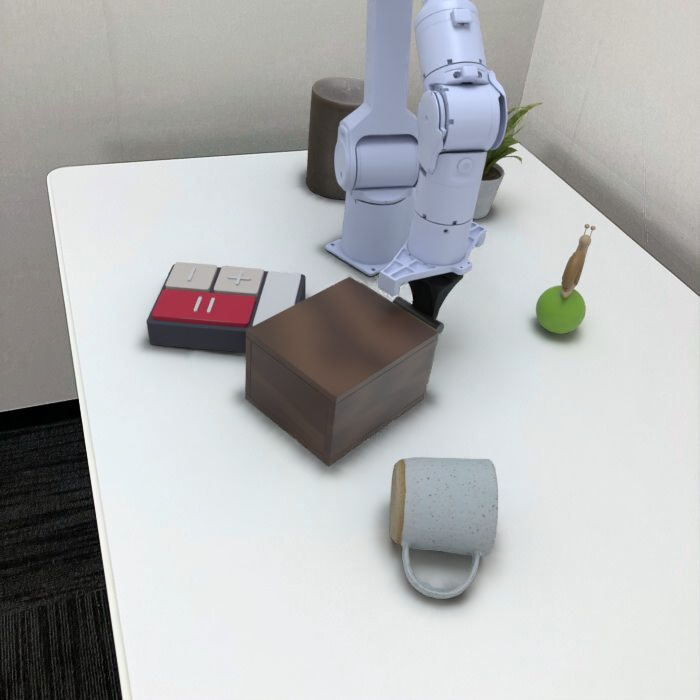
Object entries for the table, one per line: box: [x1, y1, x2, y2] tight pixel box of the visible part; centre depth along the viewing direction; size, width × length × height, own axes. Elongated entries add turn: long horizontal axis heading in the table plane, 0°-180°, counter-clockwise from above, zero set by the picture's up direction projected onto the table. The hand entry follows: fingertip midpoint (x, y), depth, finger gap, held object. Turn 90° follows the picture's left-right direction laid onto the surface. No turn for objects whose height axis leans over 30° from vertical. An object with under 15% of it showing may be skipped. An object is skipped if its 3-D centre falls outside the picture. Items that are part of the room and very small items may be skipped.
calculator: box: [146, 261, 307, 354], centre depth 83 cm, size 11×4×15 cm
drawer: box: [360, 282, 445, 385], centre depth 76 cm, size 17×10×7 cm, turn 136°
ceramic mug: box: [389, 456, 499, 600], centre depth 62 cm, size 11×8×8 cm
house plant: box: [473, 102, 543, 220], centre depth 104 cm, size 14×14×16 cm
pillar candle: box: [305, 76, 364, 200], centre depth 106 cm, size 10×10×15 cm
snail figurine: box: [535, 223, 596, 335], centre depth 85 cm, size 5×6×12 cm
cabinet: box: [244, 276, 438, 467], centre depth 74 cm, size 14×12×9 cm
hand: (422, 322), depth 82 cm, fingers closed, pressing on drawer
